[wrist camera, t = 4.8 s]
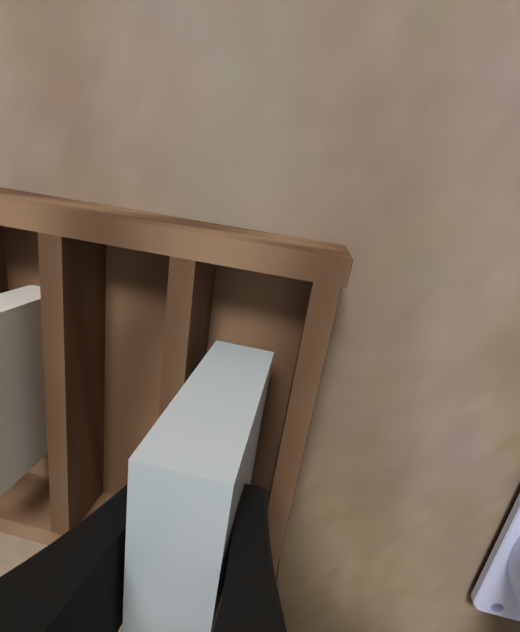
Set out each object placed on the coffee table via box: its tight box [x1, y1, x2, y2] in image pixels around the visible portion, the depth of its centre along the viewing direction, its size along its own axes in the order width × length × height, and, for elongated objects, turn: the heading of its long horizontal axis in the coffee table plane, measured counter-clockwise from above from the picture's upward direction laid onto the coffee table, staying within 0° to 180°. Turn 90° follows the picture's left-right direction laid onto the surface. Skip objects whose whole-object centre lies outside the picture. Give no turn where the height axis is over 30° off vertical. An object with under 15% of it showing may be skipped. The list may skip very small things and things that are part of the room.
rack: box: [0, 188, 353, 584], centre depth 15 cm, size 14×14×4 cm
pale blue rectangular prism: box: [122, 340, 274, 632], centre depth 11 cm, size 2×7×6 cm, turn 172°
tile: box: [0, 285, 48, 497], centre depth 13 cm, size 1×7×5 cm, turn 172°
